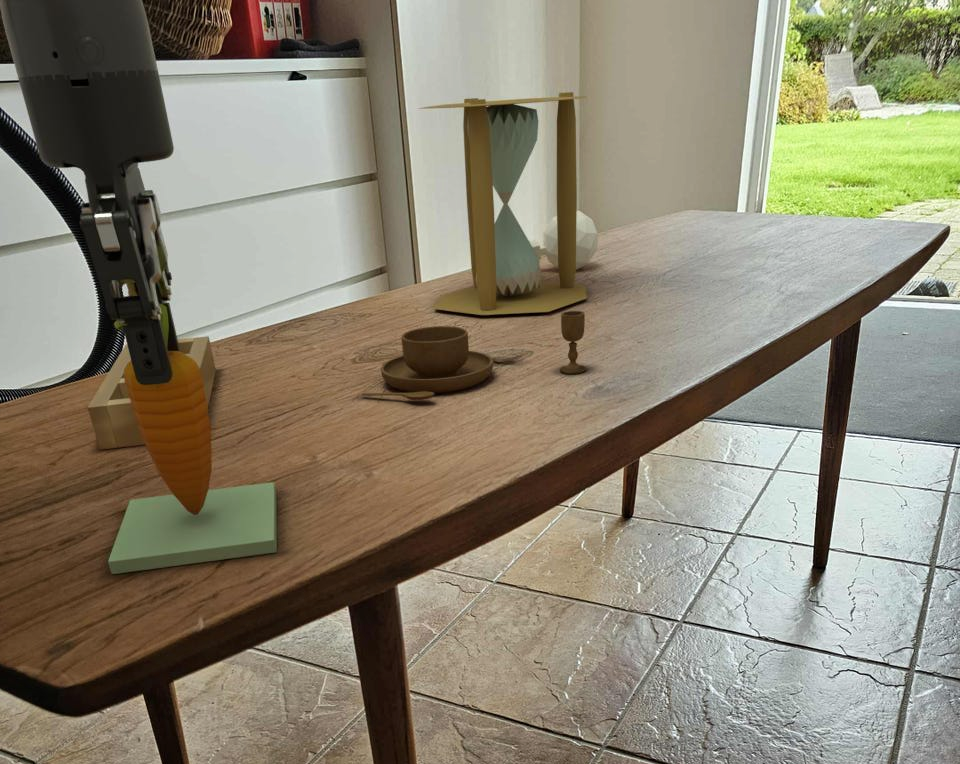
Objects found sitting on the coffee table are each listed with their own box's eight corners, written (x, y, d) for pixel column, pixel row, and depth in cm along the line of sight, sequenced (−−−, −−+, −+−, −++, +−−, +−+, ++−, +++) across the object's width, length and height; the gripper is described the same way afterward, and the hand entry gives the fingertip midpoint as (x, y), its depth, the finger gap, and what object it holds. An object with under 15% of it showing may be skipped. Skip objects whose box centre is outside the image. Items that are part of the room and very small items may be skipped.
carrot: (228, 523, 63) (179, 300, 55) (155, 532, 63) (95, 308, 55) (233, 497, 67) (188, 286, 59) (165, 505, 67) (110, 293, 59)
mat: (111, 574, 60) (107, 561, 60) (133, 511, 70) (129, 499, 69) (276, 552, 62) (274, 539, 61) (276, 493, 71) (274, 481, 70)
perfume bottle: (593, 249, 151) (523, 264, 151) (590, 194, 144) (517, 210, 144) (605, 274, 145) (532, 290, 146) (603, 219, 138) (527, 235, 139)
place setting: (430, 355, 105) (425, 302, 102) (591, 366, 97) (592, 309, 94) (347, 398, 92) (339, 339, 89) (526, 416, 84) (525, 351, 81)
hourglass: (469, 283, 142) (459, 98, 129) (608, 284, 134) (611, 89, 121) (406, 316, 123) (385, 105, 110) (562, 321, 116) (560, 94, 103)
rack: (99, 450, 83) (87, 407, 80) (134, 380, 103) (125, 344, 101) (201, 438, 84) (192, 395, 82) (216, 371, 104) (208, 336, 102)
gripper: (45, 74, 56) (118, 351, 65) (-17, 68, 44) (82, 409, 53) (168, 67, 57) (223, 341, 66) (140, 59, 45) (212, 395, 54)
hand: (160, 370), depth 60 cm, fingers closed on carrot, 5 cm apart
